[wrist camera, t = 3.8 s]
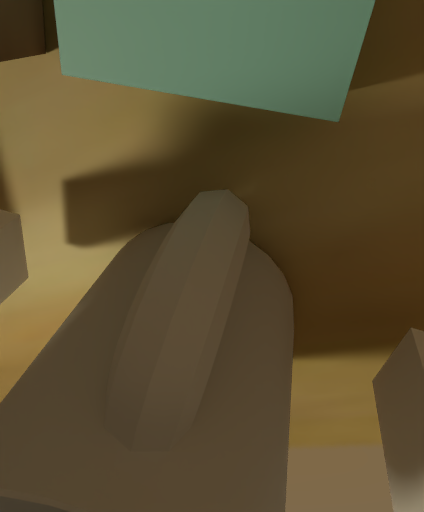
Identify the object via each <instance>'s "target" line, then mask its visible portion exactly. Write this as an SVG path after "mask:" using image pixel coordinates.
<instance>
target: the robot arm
mask: <svg viewBox="0 0 424 512" xmlns="http://www.w3.org/2000/svg"><path fill="white" fill-rule="evenodd" d="M27 278H28V271H27V263H26V256H25V249H24V241H23V234H22V227H21V219H20V215H19V214H15V213H12V212H8V211H5V210H1V209H0V304H1V303H2V302H3V301H4V300H5V299H6V298H7V297H9V296H10V295H11V294H12V293H13V292H14V291H15V290H16V289H17V288H18V287H19V286H20V285H21V284H22V283H23V282H24V281H25V280H26V279H27ZM372 382H373V388H374V394H375V400H376V407H377V413H378V419H379V425H380V431H381V437H382V443H383V449H384V456H385V462H386V468H387V474H388V480H389V486H390V492H391V499H392V504H393V511H394V512H424V331H421V330H418V329H414V328H410V329H409V331H408V332H407V333H406V335H405V336H404V338H403V339H402V340H401V342H400V343H399V345H398V346H397V347H396V349H395V350H394V351H393V353H392V354H391V356H390V357H389V358H388V360H387V361H386V363H385V364H384V365H383V367H382V368H381V370H380V371H379V372H378V374H377V375H376V377H375V378H374V379H373V381H372Z"/></svg>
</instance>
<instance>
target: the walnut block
mask: <svg viewBox="0 0 424 512" xmlns="http://www.w3.org/2000/svg"><path fill="white" fill-rule="evenodd" d="M40 54H46V47H45V33H44V19H43V5H42V0H0V62H1V61H7V60H13V59H18V58H24V57H29V56H35V55H40Z"/></svg>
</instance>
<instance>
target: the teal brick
mask: <svg viewBox="0 0 424 512" xmlns="http://www.w3.org/2000/svg"><path fill="white" fill-rule="evenodd" d="M374 3H375V0H54V8H55V17H56V26H57V35H58V44H59V53H60V62H61V71H62V75H67V76H72V77H78V78H84V79H90V80H96V81H101V82H107V83H113V84H119V85H125V86H131V87H136V88H142V89H148V90H154V91H160V92H165V93H171V94H177V95H183V96H189V97H195V98H200V99H206V100H212V101H218V102H224V103H230V104H235V105H241V106H247V107H253V108H259V109H264V110H270V111H276V112H282V113H288V114H294V115H299V116H305V117H311V118H317V119H323V120H329V121H334V122H339V119H340V116H341V113H342V109H343V106H344V103H345V99H346V96H347V93H348V89H349V86H350V83H351V79H352V76H353V73H354V70H355V66H356V63H357V60H358V56H359V53H360V50H361V46H362V43H363V40H364V36H365V33H366V30H367V27H368V23H369V20H370V17H371V13H372V10H373V7H374Z"/></svg>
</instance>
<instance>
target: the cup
mask: <svg viewBox="0 0 424 512" xmlns="http://www.w3.org/2000/svg"><path fill="white" fill-rule="evenodd" d="M249 237H250V223H249V211H248V206H247V205H246V204H245V203H243V202H242V201H241V200H240V199H239V198H238V197H236V196H235V195H234V194H233V193H232V192H231V191H230V190H228V189H225V190H214V191H203V192H200V193H199V194H198V195H197V196H196V197H195V198H194V199H193V201H192V202H191V203H190V204H189V205H188V207H187V208H186V209H185V210H184V212H183V213H182V214H181V215H180V217H179V218H178V219H177V220H176V222H175V223H166V224H163V225H160V226H157V227H154V228H150V229H147V230H145V231H143V232H142V233H140V234H139V235H137V236H136V237H135V238H133V239H132V240H130V241H129V242H128V243H127V244H126V245H125V246H124V247H123V248H122V249H121V250H120V251H119V252H118V253H117V255H116V256H115V257H114V258H113V260H112V261H111V262H110V264H109V265H108V266H107V267H106V269H105V270H104V271H103V272H102V274H101V275H100V276H99V278H98V279H97V280H96V281H95V283H94V284H93V285H92V287H91V288H90V289H89V290H88V292H87V293H86V294H85V296H84V297H83V298H82V299H81V301H80V302H79V303H78V305H77V306H76V307H75V308H74V310H73V311H72V312H71V314H70V315H69V316H68V317H67V319H66V320H65V321H64V322H63V324H62V325H61V326H60V328H59V329H58V330H57V331H56V333H55V334H54V335H53V337H52V338H51V339H50V340H49V342H48V343H47V344H46V346H45V347H44V348H43V349H42V351H41V352H40V353H39V355H38V356H37V357H36V358H35V360H34V361H33V362H32V363H31V365H30V366H29V367H28V369H27V370H26V371H25V372H24V374H23V375H22V376H21V378H20V379H19V380H18V381H17V383H16V384H15V385H14V387H13V388H12V389H11V390H10V392H9V393H8V394H7V396H6V397H5V398H4V399H3V401H2V402H1V403H0V512H285V502H286V481H287V462H288V442H289V423H290V403H291V383H292V363H293V344H294V315H293V296H292V293H291V291H290V288H289V286H288V283H287V281H286V278H285V276H284V274H283V273H282V272H281V270H280V269H279V268H278V267H277V265H276V264H275V263H274V262H273V260H272V259H271V258H270V256H269V255H267V254H266V253H265V252H263V251H262V250H261V249H260V248H258V247H257V246H256V245H254V244H253V243H252V242H250V241H249Z"/></svg>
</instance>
